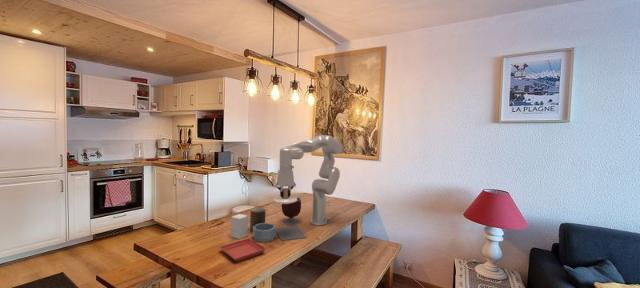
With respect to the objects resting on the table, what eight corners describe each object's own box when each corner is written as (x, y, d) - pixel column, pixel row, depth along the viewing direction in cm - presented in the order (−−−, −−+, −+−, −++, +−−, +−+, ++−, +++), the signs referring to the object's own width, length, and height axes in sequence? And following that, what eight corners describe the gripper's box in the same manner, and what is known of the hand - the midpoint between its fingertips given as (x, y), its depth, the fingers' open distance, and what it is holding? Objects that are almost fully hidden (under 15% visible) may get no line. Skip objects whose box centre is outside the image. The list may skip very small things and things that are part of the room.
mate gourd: (303, 224, 189) (304, 196, 188) (283, 226, 184) (284, 197, 183) (296, 217, 204) (297, 191, 203) (278, 219, 198) (279, 192, 197)
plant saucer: (218, 252, 143) (219, 246, 143) (249, 243, 156) (249, 237, 156) (234, 265, 130) (235, 258, 130) (266, 254, 143) (266, 248, 143)
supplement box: (248, 235, 166) (248, 215, 165) (238, 239, 160) (239, 218, 159) (239, 233, 170) (240, 213, 169) (230, 236, 163) (230, 216, 163)
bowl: (272, 233, 172) (272, 222, 171) (276, 241, 159) (277, 229, 159) (251, 235, 167) (252, 224, 167) (254, 243, 155) (254, 231, 154)
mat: (297, 226, 184) (297, 225, 184) (306, 238, 166) (306, 237, 166) (274, 229, 179) (274, 228, 179) (281, 241, 160) (281, 240, 160)
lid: (293, 197, 178) (293, 185, 177) (300, 204, 164) (300, 190, 163) (271, 199, 173) (271, 186, 172) (275, 206, 159) (275, 192, 158)
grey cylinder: (261, 233, 170) (262, 210, 169) (247, 232, 172) (247, 208, 171) (267, 228, 179) (268, 206, 179) (253, 227, 181) (254, 205, 181)
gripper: (296, 166, 173) (296, 194, 175) (271, 167, 167) (271, 196, 169) (300, 168, 166) (299, 197, 168) (273, 169, 160) (273, 199, 162)
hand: (285, 196), depth 168 cm, fingers closed on lid, 3 cm apart
